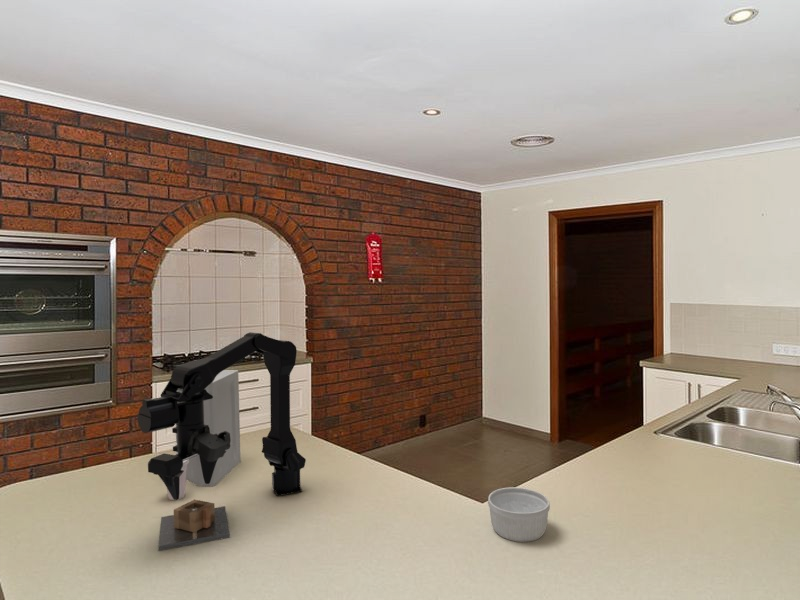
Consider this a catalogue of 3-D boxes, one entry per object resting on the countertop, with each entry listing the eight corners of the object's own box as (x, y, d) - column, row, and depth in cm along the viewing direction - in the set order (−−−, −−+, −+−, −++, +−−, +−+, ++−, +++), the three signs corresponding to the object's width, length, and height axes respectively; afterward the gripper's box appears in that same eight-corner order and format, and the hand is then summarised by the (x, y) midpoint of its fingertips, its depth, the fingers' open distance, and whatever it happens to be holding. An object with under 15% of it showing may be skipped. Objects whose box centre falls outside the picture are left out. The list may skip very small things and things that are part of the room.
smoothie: (180, 503, 129) (178, 448, 129) (157, 501, 131) (155, 446, 130) (195, 492, 136) (193, 439, 135) (173, 490, 137) (171, 438, 136)
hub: (225, 510, 125) (224, 492, 125) (229, 537, 112) (229, 516, 112) (161, 521, 120) (160, 502, 120) (158, 550, 107) (157, 529, 107)
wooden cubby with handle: (194, 516, 120) (194, 499, 120) (218, 521, 117) (217, 503, 117) (174, 527, 115) (173, 509, 114) (198, 533, 112) (197, 514, 112)
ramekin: (514, 551, 106) (514, 518, 105) (476, 524, 117) (475, 494, 117) (562, 536, 112) (562, 504, 111) (521, 511, 123) (521, 482, 123)
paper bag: (194, 460, 160) (192, 369, 158) (241, 461, 159) (239, 370, 157) (161, 485, 141) (157, 382, 139) (214, 486, 140) (211, 383, 138)
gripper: (186, 438, 103) (188, 515, 104) (247, 415, 120) (249, 481, 121) (144, 432, 107) (147, 506, 108) (210, 410, 125) (211, 474, 125)
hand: (192, 491), depth 116 cm, fingers open, 9 cm apart
